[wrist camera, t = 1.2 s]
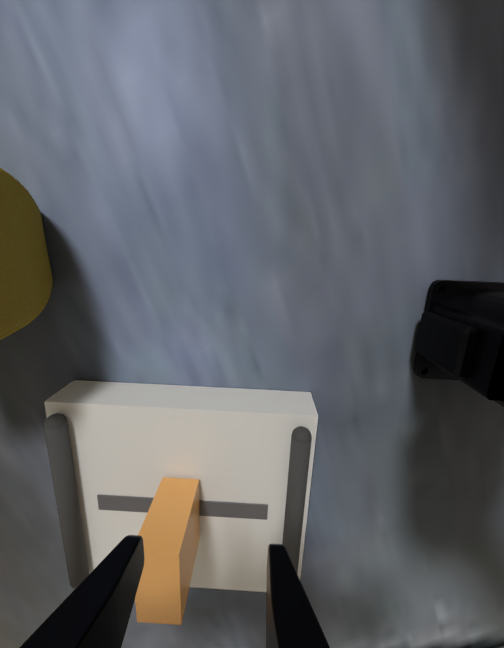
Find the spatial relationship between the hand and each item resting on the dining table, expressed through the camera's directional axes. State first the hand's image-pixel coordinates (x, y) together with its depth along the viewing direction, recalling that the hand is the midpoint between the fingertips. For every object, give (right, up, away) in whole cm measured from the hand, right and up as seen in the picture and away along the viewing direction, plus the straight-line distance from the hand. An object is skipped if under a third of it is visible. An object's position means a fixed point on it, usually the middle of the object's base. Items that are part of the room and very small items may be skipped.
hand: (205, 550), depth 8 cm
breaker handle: (-4, -7, +12) cm, 14 cm away
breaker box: (-3, -6, +15) cm, 16 cm away
